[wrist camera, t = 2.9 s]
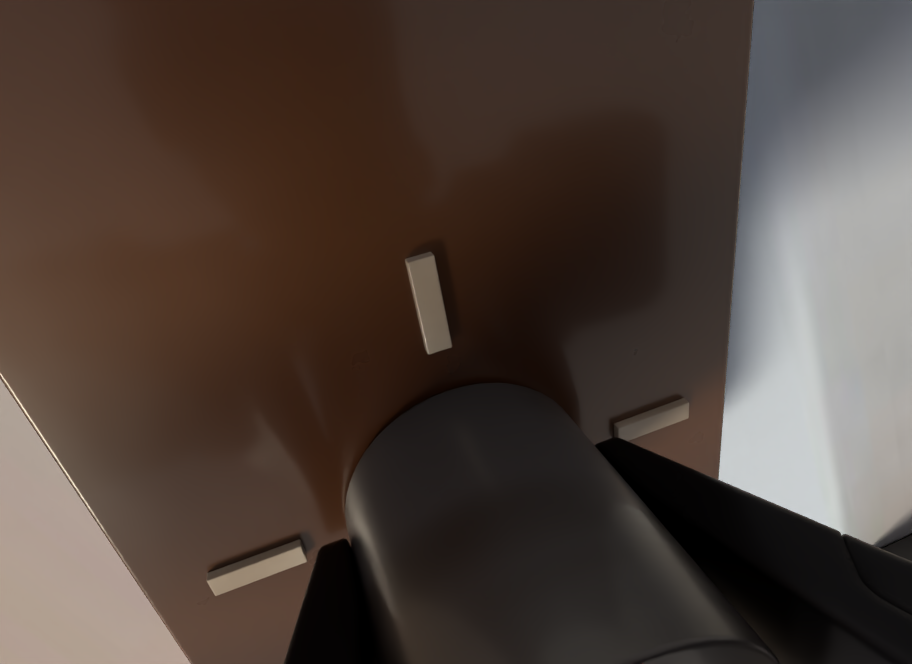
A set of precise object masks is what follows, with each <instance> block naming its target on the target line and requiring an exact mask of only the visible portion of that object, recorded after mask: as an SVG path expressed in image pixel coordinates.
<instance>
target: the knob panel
mask: <svg viewBox="0 0 912 664" xmlns="http://www.w3.org/2000/svg"><path fill="white" fill-rule="evenodd" d="M753 9H754V0H0V378H1V380H2V381H3V383H4V384H5V386H6V387H7V389H8V390H9V392H10V393H11V395H12V396H13V398H14V399H15V401H16V402H17V404H18V405H19V407H20V408H21V410H22V411H23V413H24V414H25V416H26V417H27V419H28V420H29V422H30V423H31V425H32V426H33V428H34V429H35V431H36V432H37V434H38V435H39V437H40V438H41V440H42V441H43V443H44V444H45V446H46V447H47V449H48V450H49V452H50V453H51V455H52V456H53V458H54V459H55V461H56V462H57V464H58V465H59V467H60V468H61V470H62V471H63V473H64V474H65V476H66V477H67V479H68V480H69V482H70V483H71V485H72V486H73V488H74V489H75V491H76V492H77V494H78V495H79V497H80V498H81V500H82V501H83V503H84V504H85V506H86V507H87V509H88V510H89V512H90V513H91V515H92V516H93V518H94V519H95V521H96V522H97V524H98V525H99V527H100V528H101V530H102V531H103V533H104V534H105V536H106V537H107V539H108V540H109V542H110V543H111V545H112V546H113V548H114V549H115V551H116V552H117V554H118V555H119V557H120V558H121V560H122V561H123V563H124V564H125V566H126V567H127V569H128V570H129V572H130V573H131V575H132V576H133V578H134V579H135V581H136V582H137V584H138V585H139V587H140V588H141V590H142V591H143V592H144V594H145V595H146V597H147V598H148V600H149V601H150V603H151V604H152V606H153V607H154V609H155V610H156V612H157V613H158V615H159V616H160V618H161V619H162V621H163V622H164V624H165V625H166V627H167V628H168V630H169V631H170V633H171V634H172V636H173V637H174V639H175V640H176V642H177V643H178V645H179V646H180V648H181V649H182V651H183V652H184V654H185V655H186V657H187V658H188V660H189V661H190V663H191V664H283V663H284V660H285V657H286V654H287V650H288V647H289V644H290V641H291V637H292V634H293V631H294V628H295V625H296V621H297V618H298V615H299V612H300V608H301V605H302V602H303V599H304V596H305V592H306V589H307V586H308V583H309V579H310V576H311V573H312V570H313V567H314V563H315V560H316V557H317V554H318V551H319V549H320V548H321V547H322V546H324V545H326V544H329V543H332V542H334V541H337V540H340V539H343V538H344V539H347V540H348V542H349V544H350V540H349V536H348V531H347V527H346V520H345V503H346V495H347V491H348V487H349V483H350V480H351V478H352V476H353V473H354V471H355V468H356V466H357V464H358V463H359V461H360V459H361V457H362V456H363V454H364V452H365V451H366V450H367V448H368V447H369V446H370V444H371V443H372V442H373V440H374V439H375V438H376V437H377V436H378V435H379V434H380V433H381V432H382V431H383V430H384V429H385V428H386V427H387V426H388V425H389V424H390V423H392V422H393V421H394V420H395V419H396V418H398V417H399V416H400V415H401V414H403V413H404V412H406V411H407V410H409V409H410V408H412V407H413V406H415V405H417V404H419V403H420V402H422V401H424V400H426V399H428V398H430V397H432V396H435V395H437V394H440V393H442V392H445V391H447V390H451V389H455V388H458V387H462V386H466V385H473V384H479V383H507V384H514V385H519V386H523V387H527V388H530V389H533V390H535V391H538V392H540V393H542V394H544V395H546V396H547V397H549V398H551V399H552V400H554V401H555V402H556V403H557V404H558V405H559V406H561V407H562V408H563V409H564V411H565V412H566V413H567V414H568V415H569V416H570V418H571V419H572V420H573V421H574V422H575V423H576V425H577V426H578V427H579V428H580V429H581V430H582V431H583V433H584V434H585V435H586V436H587V437H588V438H589V440H590V441H591V442H592V443H593V444H594V445H596V444H597V443H600V442H602V441H605V440H608V439H610V438H614V437H618V438H621V439H624V440H626V441H628V442H631V443H633V444H636V445H638V446H640V447H643V448H645V449H647V450H650V451H652V452H654V453H657V454H659V455H661V456H664V457H666V458H668V459H671V460H673V461H675V462H678V463H680V464H682V465H685V466H687V467H689V468H692V469H694V470H696V471H699V472H701V473H704V474H706V475H708V476H711V477H713V478H715V479H718V477H719V463H720V450H721V436H722V423H723V410H724V396H725V383H726V370H727V356H728V343H729V330H730V316H731V303H732V290H733V276H734V263H735V250H736V236H737V223H738V210H739V196H740V183H741V170H742V156H743V143H744V130H745V116H746V103H747V90H748V76H749V63H750V49H751V36H752V23H753ZM350 546H351V545H350Z"/></svg>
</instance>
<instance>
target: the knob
mask: <svg viewBox="0 0 912 664" xmlns="http://www.w3.org/2000/svg"><path fill="white" fill-rule="evenodd" d="M345 520H346V527H347V531H348V536H349V540H350V545H351V549H352V554H353V558H354V563H355V567H356V572H357V576H358V580H359V585H360V589H361V594H362V598H363V603H364V607H365V612H366V616H367V621H368V625H369V630H370V634H371V639H372V643H373V648H374V652H375V657H376V661H377V664H780V662H779V660H778V658H777V657H776V656H775V654H774V653H773V652H772V651H771V649H770V648H769V647H768V646H767V645H766V644H765V642H764V641H763V640H762V639H761V638H760V637H759V635H758V634H757V633H756V632H755V631H754V630H753V629H752V627H751V626H750V625H749V624H748V623H747V622H746V620H745V619H744V618H743V617H742V616H741V615H740V613H739V612H738V611H737V610H736V609H735V608H734V606H733V605H732V604H731V603H730V602H729V601H728V600H727V598H726V597H725V596H724V595H723V594H722V593H721V591H720V590H719V589H718V588H717V587H716V586H715V584H714V583H713V582H712V581H711V580H710V579H709V578H708V576H707V575H706V574H705V573H704V572H703V571H702V569H701V568H700V567H699V566H698V565H697V564H696V562H695V561H694V560H693V559H692V558H691V557H690V555H689V554H688V553H687V552H686V551H685V550H684V549H683V547H682V546H681V545H680V544H679V543H678V542H677V540H676V539H675V538H674V537H673V536H672V535H671V533H670V532H669V531H668V530H667V529H666V528H665V527H664V525H663V524H662V523H661V522H660V521H659V520H658V518H657V517H656V516H655V515H654V514H653V513H652V511H651V510H650V509H649V508H648V507H647V506H646V504H645V503H644V502H643V501H642V500H641V499H640V498H639V496H638V495H637V494H636V493H635V492H634V491H633V489H632V488H631V487H630V486H629V485H628V484H627V482H626V481H625V480H624V479H623V478H622V477H621V476H620V474H619V473H618V472H617V471H616V470H615V469H614V467H613V466H612V465H611V464H610V463H609V462H608V460H607V459H606V458H605V457H604V456H603V455H602V453H601V452H600V451H599V450H598V449H597V448H596V447H595V445H594V444H593V443H592V442H591V441H590V440H589V438H588V437H587V436H586V435H585V434H584V433H583V431H582V430H581V429H580V428H579V427H578V426H577V425H576V423H575V422H574V421H573V420H572V419H571V418H570V416H569V415H568V414H567V413H566V412H565V411H564V409H563V408H562V407H561V406H559V405H558V404H557V403H556V402H555V401H554V400H552V399H551V398H549V397H547V396H546V395H544V394H542V393H540V392H538V391H535V390H533V389H530V388H527V387H523V386H519V385H514V384H507V383H479V384H473V385H466V386H462V387H458V388H455V389H451V390H447V391H445V392H442V393H440V394H437V395H435V396H432V397H430V398H428V399H426V400H424V401H422V402H420V403H419V404H417V405H415V406H413V407H412V408H410V409H409V410H407V411H406V412H404V413H403V414H401V415H400V416H399V417H398V418H396V419H395V420H394V421H393V422H392V423H390V424H389V425H388V426H387V427H386V428H385V429H384V430H383V431H382V432H381V433H380V434H379V435H378V436H377V437H376V438H375V439H374V440H373V442H372V443H371V444H370V446H369V447H368V448H367V450H366V451H365V452H364V454H363V456H362V457H361V459H360V461H359V463H358V464H357V466H356V468H355V471H354V473H353V476H352V478H351V480H350V483H349V487H348V491H347V495H346V503H345Z"/></svg>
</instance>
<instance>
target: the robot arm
mask: <svg viewBox="0 0 912 664" xmlns="http://www.w3.org/2000/svg"><path fill="white" fill-rule="evenodd" d="M595 447H596V448H597V449H598V450H599V451H600V452H601V453H602V455H603V456H604V457H605V458H606V459H607V460H608V462H609V463H610V464H611V465H612V466H613V467H614V469H615V470H616V471H617V472H618V473H619V474H620V476H621V477H622V478H623V479H624V480H625V481H626V482H627V484H628V485H629V486H630V487H631V488H632V489H633V491H634V492H635V493H636V494H637V495H638V496H639V498H640V499H641V500H642V501H643V502H644V503H645V504H646V506H647V507H648V508H649V509H650V510H651V511H652V513H653V514H654V515H655V516H656V517H657V518H658V520H659V521H660V522H661V523H662V524H663V525H664V527H665V528H666V529H667V530H668V531H669V532H670V533H671V535H672V536H673V537H674V538H675V539H676V540H677V542H678V543H679V544H680V545H681V546H682V547H683V549H684V550H685V551H686V552H687V553H688V554H689V555H690V557H691V558H692V559H693V560H694V561H695V562H696V564H697V565H698V566H699V567H700V568H701V569H702V571H703V572H704V573H705V574H706V575H707V576H708V578H709V579H710V580H711V581H712V582H713V583H714V584H715V586H716V587H717V588H718V589H719V590H720V591H721V593H722V594H723V595H724V596H725V597H726V598H727V600H728V601H729V602H730V603H731V604H732V605H733V606H734V608H735V609H736V610H737V611H738V612H739V613H740V615H741V616H742V617H743V618H744V619H745V620H746V622H747V623H748V624H749V625H750V626H751V627H752V629H753V630H754V631H755V632H756V633H757V634H758V635H759V637H760V638H761V639H762V640H763V641H764V642H765V644H766V645H767V646H768V647H769V648H770V649H771V651H772V652H773V653H774V654H775V656H776V657H777V658H778V660H779V662H780V664H912V561H910V560H907V559H905V558H902V557H900V556H897V555H895V554H892V553H890V552H888V551H885V550H883V549H880V548H878V547H875V546H873V545H870V544H868V543H866V542H863V541H861V540H859V539H856V538H854V537H852V536H849V535H847V534H843V535H841V533H840V532H839V531H837V530H835V529H832V528H830V527H828V526H825V525H823V524H821V523H818V522H816V521H814V520H811V519H809V518H807V517H804V516H802V515H800V514H797V513H795V512H793V511H790V510H788V509H786V508H783V507H781V506H779V505H776V504H774V503H771V502H769V501H767V500H764V499H762V498H760V497H757V496H755V495H753V494H750V493H748V492H746V491H743V490H741V489H739V488H736V487H734V486H732V485H729V484H727V483H725V482H722V481H720V480H718V479H715V478H713V477H711V476H708V475H706V474H704V473H701V472H699V471H696V470H694V469H692V468H689V467H687V466H685V465H682V464H680V463H678V462H675V461H673V460H671V459H668V458H666V457H664V456H661V455H659V454H657V453H654V452H652V451H650V450H647V449H645V448H643V447H640V446H638V445H636V444H633V443H631V442H628V441H626V440H624V439H621V438H618V437H614V438H610V439H608V440H605V441H602V442H600V443H597V444H596V445H595ZM283 664H377V661H376V657H375V652H374V648H373V643H372V639H371V634H370V630H369V625H368V621H367V616H366V612H365V607H364V603H363V598H362V594H361V589H360V585H359V580H358V576H357V572H356V567H355V563H354V558H353V554H352V549H351V546H350V544H349V542H348V540H347V539H344V538H343V539H340V540H337V541H334V542H332V543H329V544H326V545H324V546H322V547H321V548H320V549H319V551H318V554H317V557H316V560H315V563H314V567H313V570H312V573H311V576H310V579H309V583H308V586H307V589H306V592H305V596H304V599H303V602H302V605H301V608H300V612H299V615H298V618H297V621H296V625H295V628H294V631H293V634H292V637H291V641H290V644H289V647H288V650H287V654H286V657H285V660H284V663H283Z"/></svg>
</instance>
